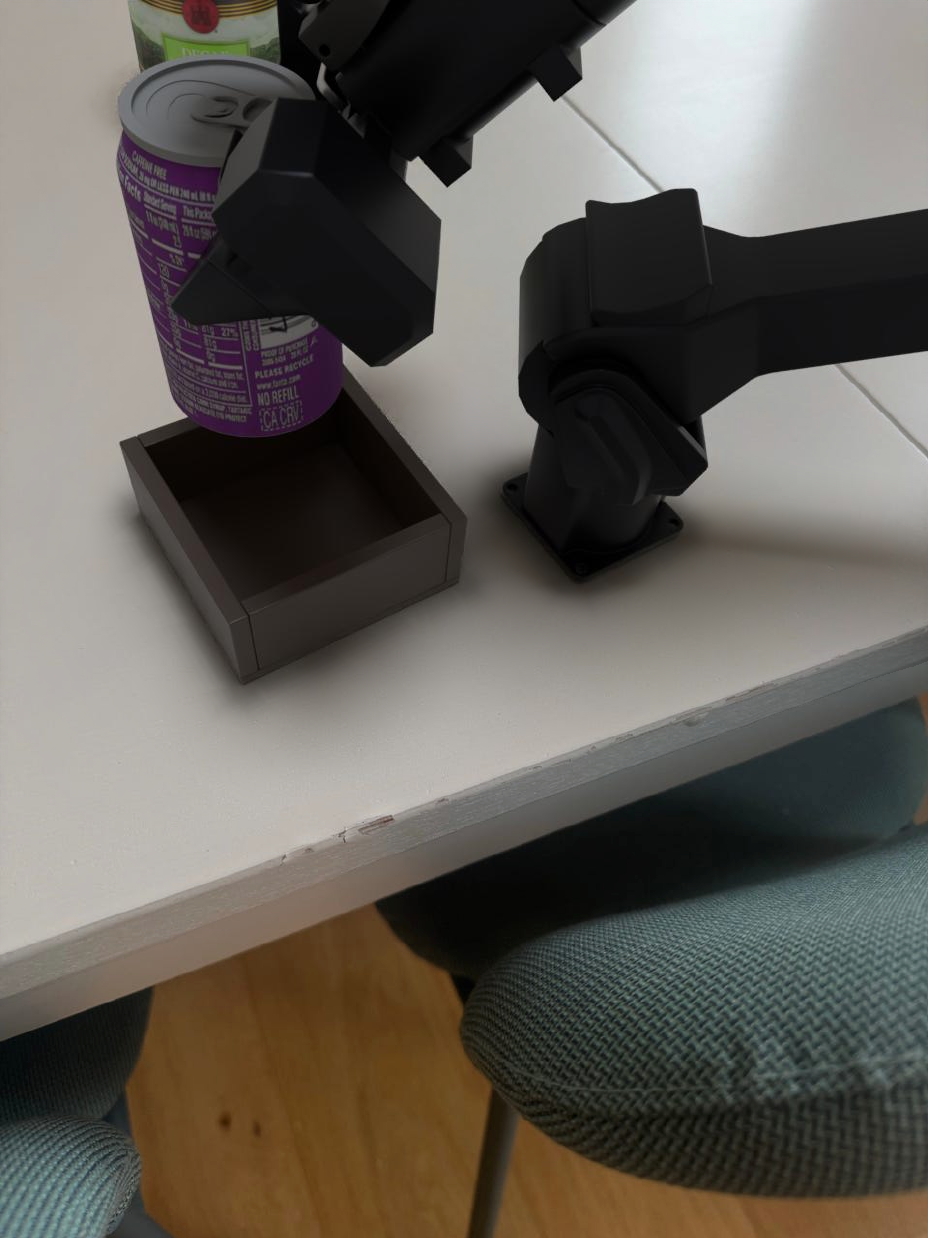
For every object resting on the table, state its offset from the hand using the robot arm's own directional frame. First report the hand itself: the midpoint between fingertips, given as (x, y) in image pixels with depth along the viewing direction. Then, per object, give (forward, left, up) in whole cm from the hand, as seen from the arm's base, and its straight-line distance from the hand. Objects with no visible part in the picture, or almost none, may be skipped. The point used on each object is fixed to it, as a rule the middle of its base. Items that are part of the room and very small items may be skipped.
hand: (202, 249), depth 34 cm
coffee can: (+14, +30, -13) cm, 36 cm away
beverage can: (+1, -1, -7) cm, 7 cm away
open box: (+1, -5, -13) cm, 13 cm away
